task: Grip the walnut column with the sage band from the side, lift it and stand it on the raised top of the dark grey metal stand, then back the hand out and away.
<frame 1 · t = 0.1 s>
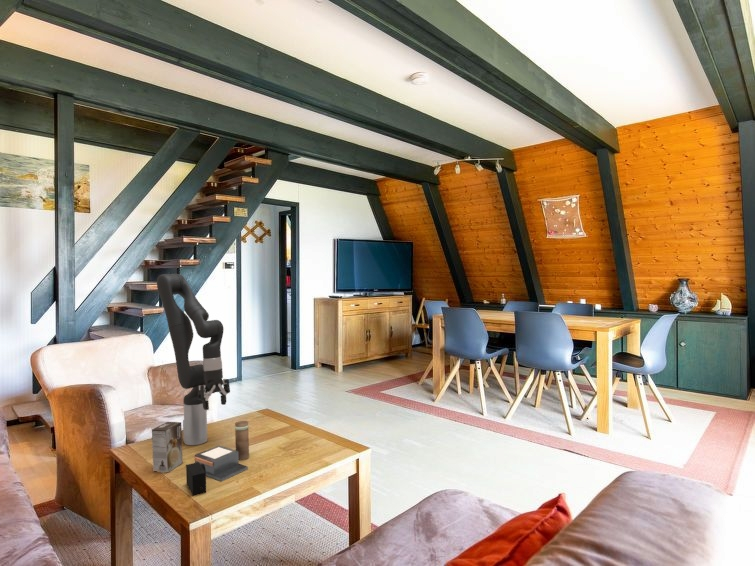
hand: (215, 407, 195), 17 cm above the table, tool pointing down, fingers open, 8 cm apart
column: (242, 457, 185), on the table
step stand: (217, 468, 175), on the table
digital camera: (198, 488, 160), on the table
coffee box: (168, 467, 177), on the table
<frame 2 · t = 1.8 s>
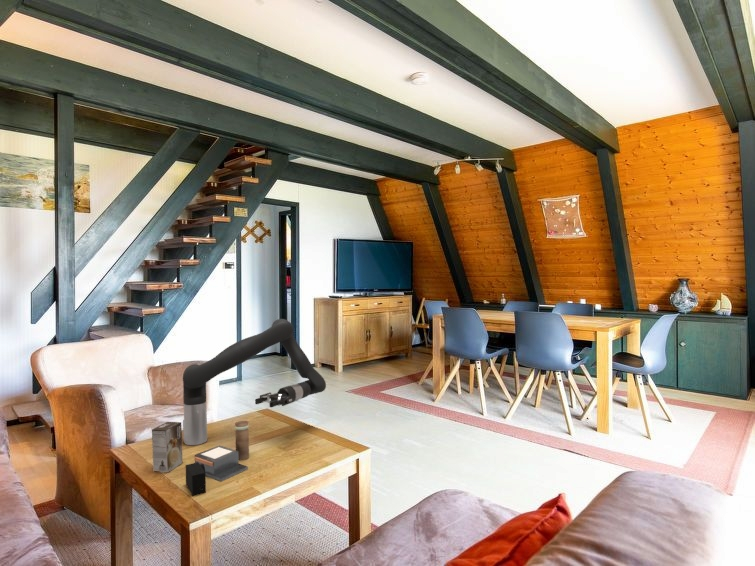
hand: (262, 403, 193), 19 cm above the table, tool horizontal, fingers open, 8 cm apart
nothing on the table moved.
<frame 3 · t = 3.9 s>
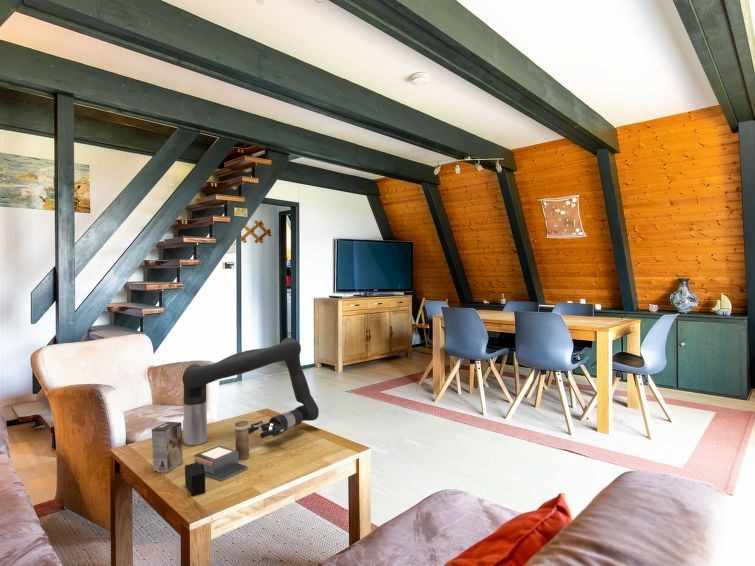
hand: (253, 433, 190), 8 cm above the table, tool horizontal, fingers open, 8 cm apart
nothing on the table moved.
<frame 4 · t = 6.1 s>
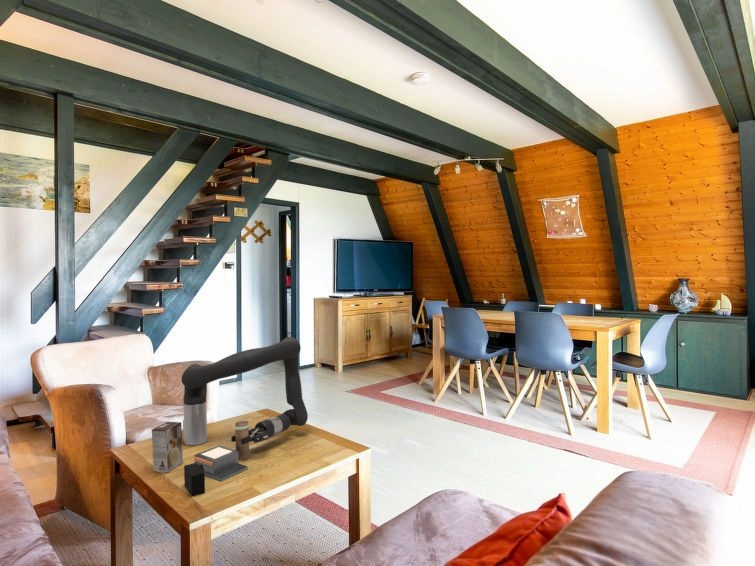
hand: (236, 440, 182), 8 cm above the table, tool horizontal, fingers closed on column, 5 cm apart
column: (242, 457, 185), on the table, touching gripper
everything else where it was.
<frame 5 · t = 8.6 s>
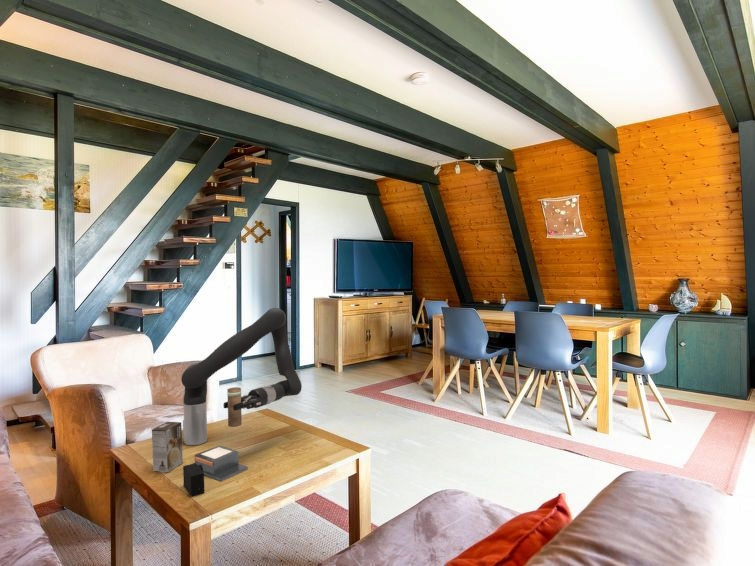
hand: (229, 406, 179), 22 cm above the table, tool horizontal, fingers closed on column, 5 cm apart
column: (234, 424, 182), point 14 cm above the table, touching gripper
everything else where it was.
when the fingers open (15 cm above the table, at t = 11.4 s): column drops 1 cm, resting on step stand.
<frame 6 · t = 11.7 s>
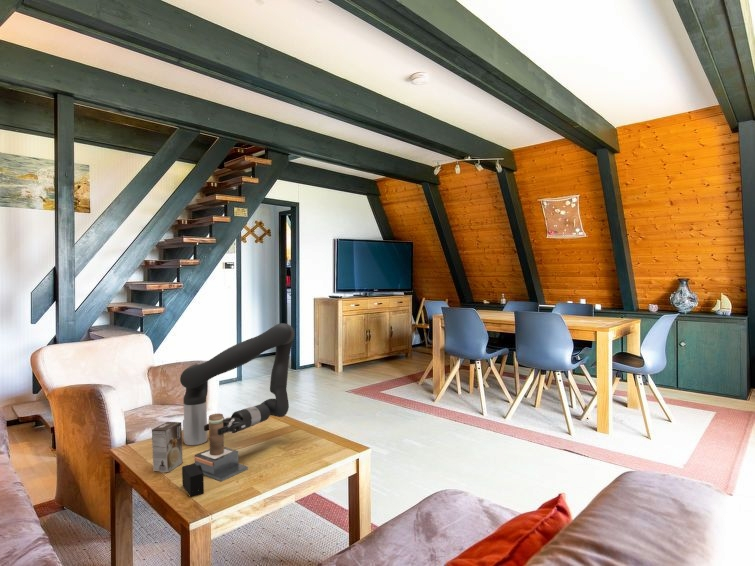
hand: (211, 430, 172), 15 cm above the table, tool horizontal, fingers open, 7 cm apart
column: (216, 452, 175), point 6 cm above the table, touching step stand
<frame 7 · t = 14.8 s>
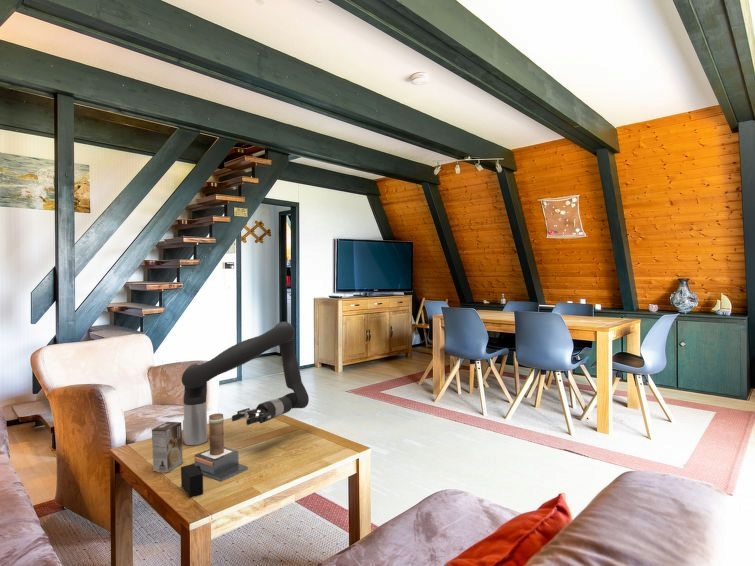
hand: (239, 420, 183), 15 cm above the table, tool horizontal, fingers open, 8 cm apart
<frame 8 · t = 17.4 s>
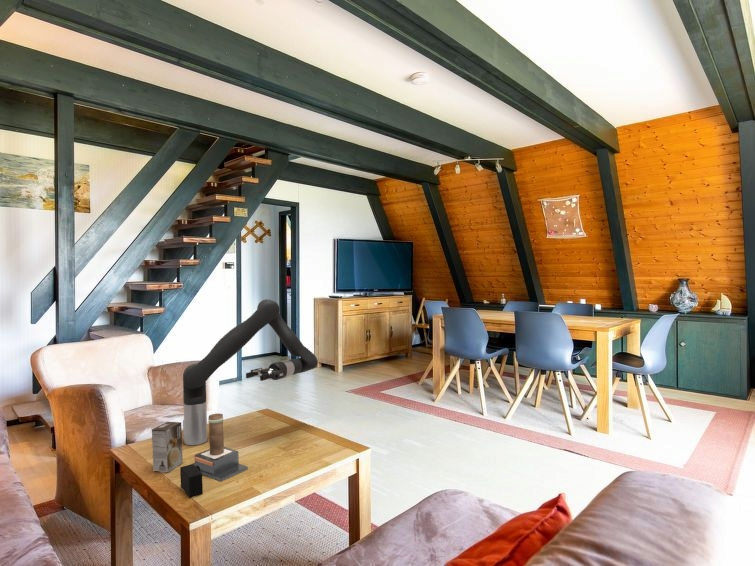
hand: (253, 377, 193), 30 cm above the table, tool horizontal, fingers open, 8 cm apart
at the end: column inside the target area on the step stand (0.1 cm from its centre), point 6.1 cm above the step stand's base; column tilted 1°; the gripper is holding nothing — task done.
